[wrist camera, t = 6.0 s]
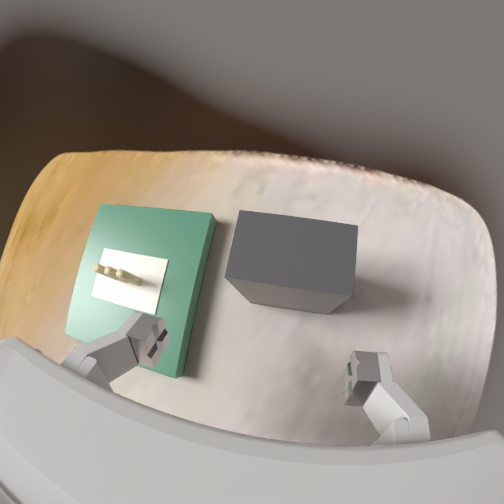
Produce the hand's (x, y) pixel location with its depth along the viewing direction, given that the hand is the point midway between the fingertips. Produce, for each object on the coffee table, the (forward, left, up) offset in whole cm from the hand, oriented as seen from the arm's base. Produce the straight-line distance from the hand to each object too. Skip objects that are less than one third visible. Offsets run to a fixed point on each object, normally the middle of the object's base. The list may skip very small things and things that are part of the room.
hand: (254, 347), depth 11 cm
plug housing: (+5, -1, -9) cm, 10 cm away
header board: (+3, +12, -9) cm, 15 cm away
